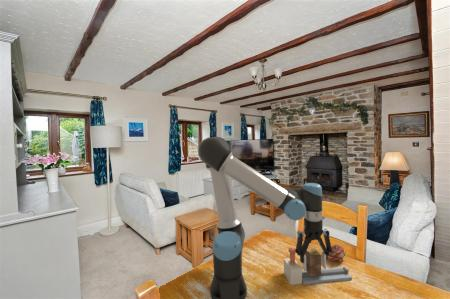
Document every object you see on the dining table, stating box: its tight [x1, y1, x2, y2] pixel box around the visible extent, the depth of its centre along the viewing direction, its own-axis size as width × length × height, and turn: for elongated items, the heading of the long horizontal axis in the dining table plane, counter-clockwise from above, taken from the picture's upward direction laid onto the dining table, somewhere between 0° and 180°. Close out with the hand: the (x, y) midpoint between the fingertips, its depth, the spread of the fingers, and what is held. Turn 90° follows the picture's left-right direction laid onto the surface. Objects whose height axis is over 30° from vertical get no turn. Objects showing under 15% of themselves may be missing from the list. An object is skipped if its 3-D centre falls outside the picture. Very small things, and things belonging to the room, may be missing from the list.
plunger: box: [288, 247, 297, 263], centre depth 95 cm, size 3×3×6 cm
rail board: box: [302, 266, 353, 285], centre depth 96 cm, size 22×7×3 cm, turn 95°
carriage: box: [305, 248, 322, 276], centre depth 95 cm, size 5×5×10 cm
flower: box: [328, 243, 347, 262], centre depth 108 cm, size 10×9×8 cm
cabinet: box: [283, 257, 303, 286], centre depth 96 cm, size 5×8×7 cm, turn 5°
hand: (313, 268), depth 96 cm, fingers open, 8 cm apart
